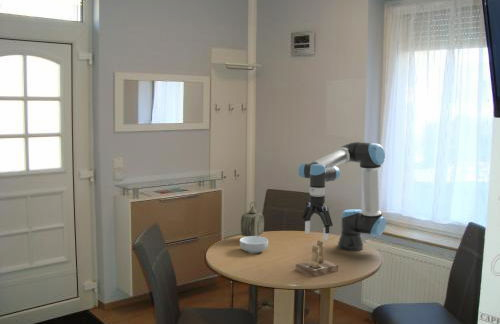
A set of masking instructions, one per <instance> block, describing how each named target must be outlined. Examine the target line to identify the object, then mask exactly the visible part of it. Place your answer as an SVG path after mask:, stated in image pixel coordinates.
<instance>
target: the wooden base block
mask: <svg viewBox="0 0 500 324" xmlns="http://www.w3.org/2000/svg"><path fill="white" fill-rule="evenodd" d="M316 246H319V268H318V269H313V268H311V267H312V260H309V261H304V262H299V263H295V266H294V267H295V271H296V272H299V273H302V274H303V275H306V276H309V277H311V278H314V277H319V276H323V275H327V274H330V273H334V272H338V271H339V264H337V263H333V262H331V261H328V260H326V259H324V258H325V257H324V254H325V240H317V242H316Z"/></svg>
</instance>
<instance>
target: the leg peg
mask: <svg viewBox="0 0 500 324" xmlns="http://www.w3.org/2000/svg"><path fill="white" fill-rule="evenodd" d="M311 261H312V267H311V268H313V269H318V268H319V246H317V245H312V246H311Z"/></svg>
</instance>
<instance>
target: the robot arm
mask: <svg viewBox="0 0 500 324" xmlns="http://www.w3.org/2000/svg"><path fill="white" fill-rule="evenodd" d="M385 158H386V152H385V149H384V147H383V146H382V145H381V144H379V143H374V142H360V141H355V142H354V141H353V142H350V143H346V144H343V145H342V146H340V147H338V148H337V149H336V150H335V151H333V152H331V153H329V154H326V155H325V156H323V157H321V158H318V159H317V160H314V161H312V162H310V163H306V162H305V163H301V164H299V165H298V169H297V171H298V172H297V174H298V175H299V177H301V178H304V179H309V202H306V203H305V208H304V210H303V213H302V216H301V219H302V220H303V221H304V234H305V235H308V234H310V233H311V221H310V220H311V218H312V216H313V215H314V214H316V215H317V216H319V217H320V219H321V221H322V224H323V225H324V226H323V240H322V241H326V240H329V234H330V227H333V224H334V223H333V221H332V217H331V215H330V210H329V206H324V204H325V202H326V201H325V199H326V196H325V195H326V183H327V182H334V181H336V180H338V179H339V178H340V177H341V170H340V168H339V167H338V166H339V165H341V164H347V163H358V164H359V167H360V169H361V170H362V192H363V193H362V194H363V209H359V208H358V209H357V208H354V209H353V208H352V209H351V208H350V209H345V210H343V211H342V212H341V227H340V228H341V229H340V230H341V232H340V236H339V240H338V242H337V248H338V247H339V248H338V249H340V250H343V249H344V250H343V251H349V250H358V251H362V250H364V243H363V238H362V234H364V235H369V236H375V237H380V236H382V234H383V233H384V231H385V229H386V226H387V219H386V217H384V216H383V212H382V211H381V210H380V200H379V199H380V196H379V195H380V191H379V169H380V168H382V167H381V166H382V164H384V162H385ZM361 249H362V250H361Z"/></svg>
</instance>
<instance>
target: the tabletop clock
mask: <svg viewBox="0 0 500 324" xmlns="http://www.w3.org/2000/svg"><path fill="white" fill-rule="evenodd" d="M252 204H254V206H253V205H252ZM256 207H257V204H256V202H255V201H251V202H250V203H249V210H248V211H247V212H244V213H242V215H241V218H240V234H241V235H240V236H243V237H247V236H261V235H262V234H263V233H264V229H265V216H264V214H262V212H257V210H256V209H255V208H256Z"/></svg>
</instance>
